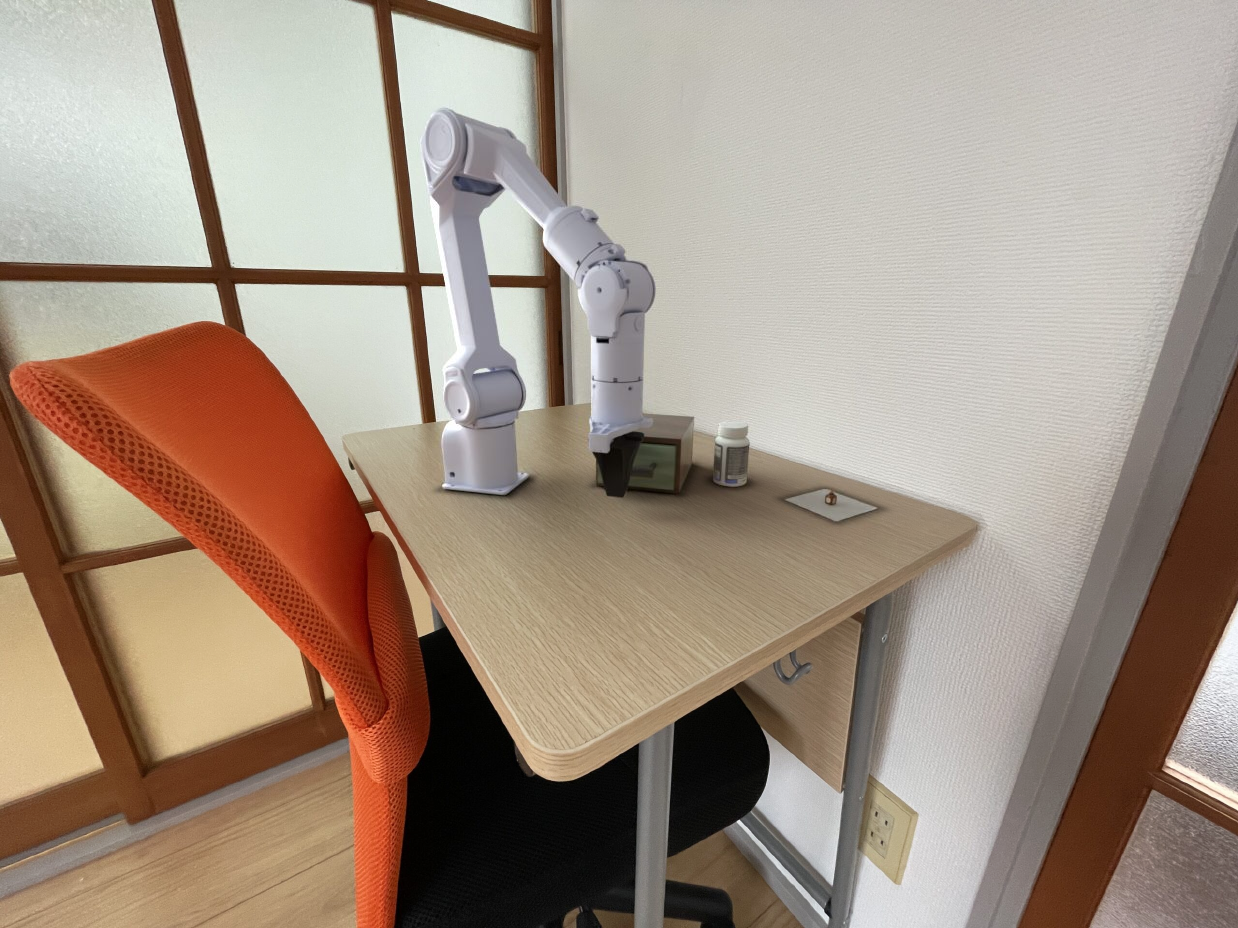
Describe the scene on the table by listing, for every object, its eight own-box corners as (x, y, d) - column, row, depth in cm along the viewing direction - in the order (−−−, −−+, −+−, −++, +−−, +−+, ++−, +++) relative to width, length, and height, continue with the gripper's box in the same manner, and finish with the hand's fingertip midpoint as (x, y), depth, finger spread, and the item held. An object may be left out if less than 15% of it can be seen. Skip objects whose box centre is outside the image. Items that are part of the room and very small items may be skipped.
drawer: (668, 501, 66) (670, 456, 64) (588, 492, 68) (588, 449, 66) (686, 462, 81) (688, 425, 79) (620, 456, 83) (621, 421, 81)
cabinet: (679, 494, 70) (681, 439, 68) (596, 485, 73) (595, 432, 71) (692, 463, 83) (694, 416, 81) (620, 457, 86) (621, 411, 83)
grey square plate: (878, 508, 66) (880, 494, 66) (836, 521, 62) (838, 506, 62) (824, 488, 73) (826, 475, 72) (784, 499, 69) (785, 486, 68)
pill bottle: (751, 480, 76) (756, 423, 73) (739, 489, 72) (744, 430, 69) (720, 474, 78) (723, 418, 76) (707, 483, 74) (710, 425, 72)
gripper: (638, 392, 50) (635, 523, 54) (665, 371, 63) (661, 477, 67) (567, 388, 51) (570, 515, 56) (608, 368, 65) (608, 472, 69)
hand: (616, 494), depth 62 cm, fingers closed
